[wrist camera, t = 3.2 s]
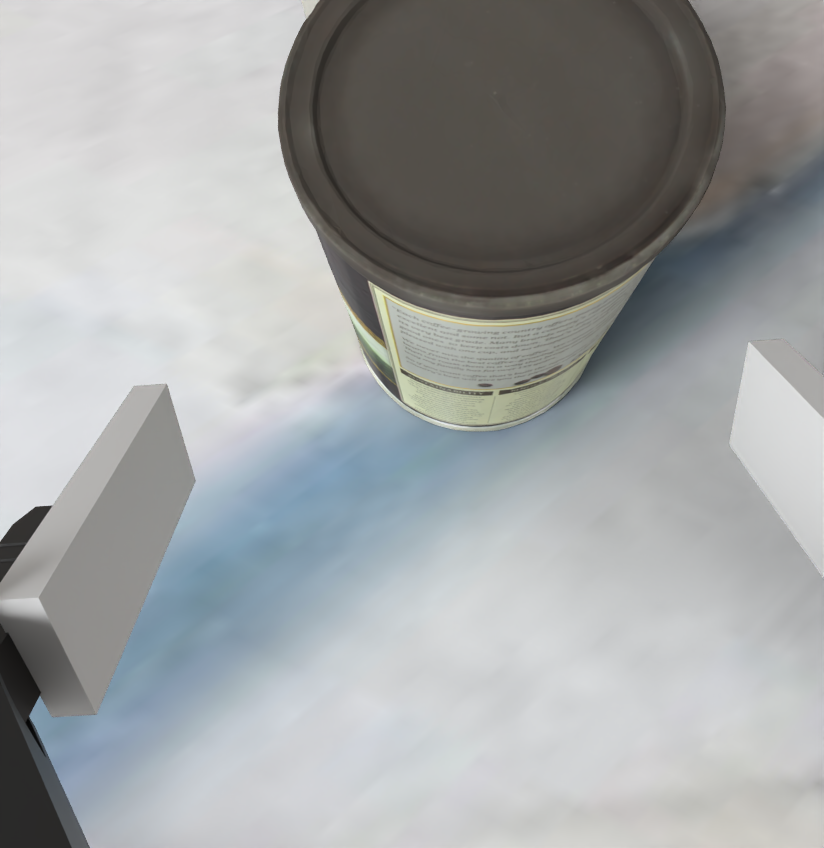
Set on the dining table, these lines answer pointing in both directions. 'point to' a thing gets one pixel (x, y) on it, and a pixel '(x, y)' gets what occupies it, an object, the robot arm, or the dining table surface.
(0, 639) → the robot arm
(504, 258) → the coffee can
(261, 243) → the dining table surface
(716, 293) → the dining table surface
